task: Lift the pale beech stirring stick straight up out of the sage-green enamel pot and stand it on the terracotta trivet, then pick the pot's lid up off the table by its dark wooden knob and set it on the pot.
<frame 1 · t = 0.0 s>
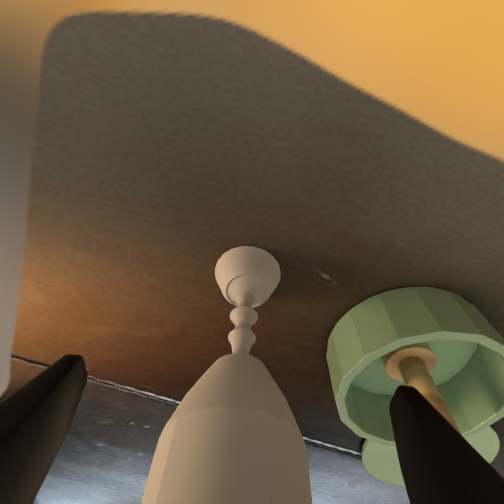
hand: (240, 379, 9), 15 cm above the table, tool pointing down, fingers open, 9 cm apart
chalice: (247, 272, 25), on the table
pot lid: (426, 450, 35), point 1 cm above the table
stick: (404, 351, 28), resting on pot
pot: (402, 346, 28), on the table
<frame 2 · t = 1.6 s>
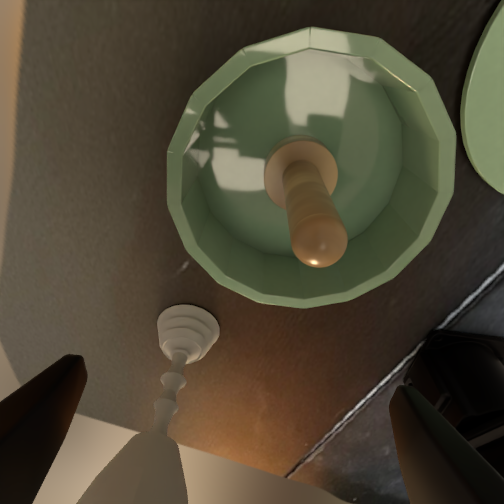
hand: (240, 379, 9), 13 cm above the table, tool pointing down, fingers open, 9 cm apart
chalice: (188, 326, 26), on the table
stick: (298, 170, 19), resting on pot
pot: (297, 167, 19), on the table
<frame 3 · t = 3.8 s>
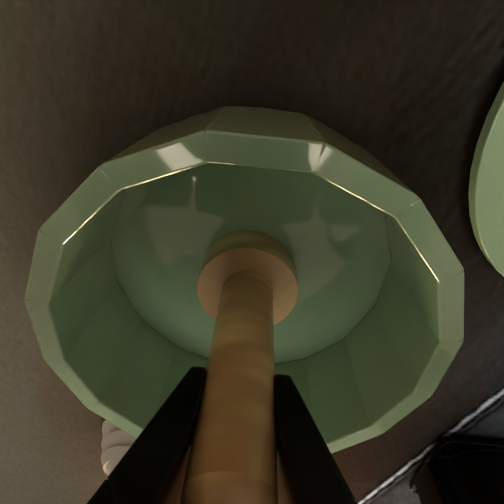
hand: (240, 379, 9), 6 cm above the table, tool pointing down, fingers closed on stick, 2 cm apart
chalice: (141, 431, 22), on the table
stick: (249, 271, 14), point 1 cm above the table, touching gripper, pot
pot: (249, 265, 15), on the table
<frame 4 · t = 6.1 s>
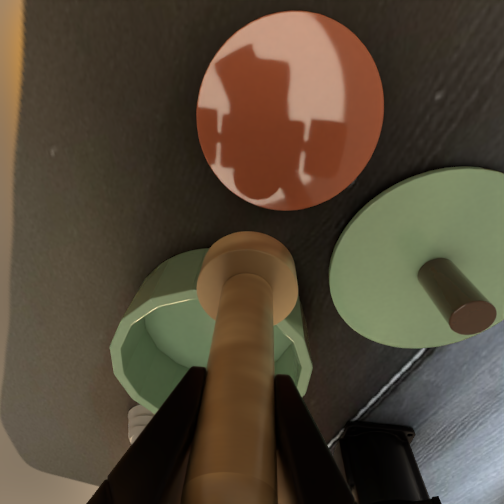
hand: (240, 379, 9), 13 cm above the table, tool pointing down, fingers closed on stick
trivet: (287, 122, 18), on the table
chalice: (153, 418, 33), on the table
pot lid: (432, 268, 22), point 1 cm above the table
stick: (248, 272, 14), point 8 cm above the table, touching gripper
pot: (220, 319, 26), on the table
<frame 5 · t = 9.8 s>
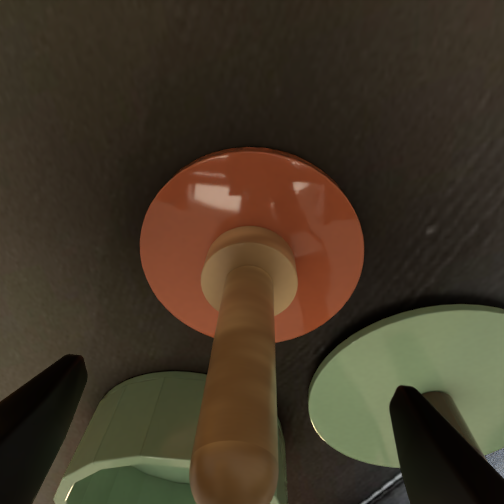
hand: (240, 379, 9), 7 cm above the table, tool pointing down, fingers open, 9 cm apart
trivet: (251, 255, 15), on the table
pot lid: (427, 396, 19), point 1 cm above the table
stick: (250, 265, 15), point 1 cm above the table, touching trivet
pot: (189, 433, 23), on the table
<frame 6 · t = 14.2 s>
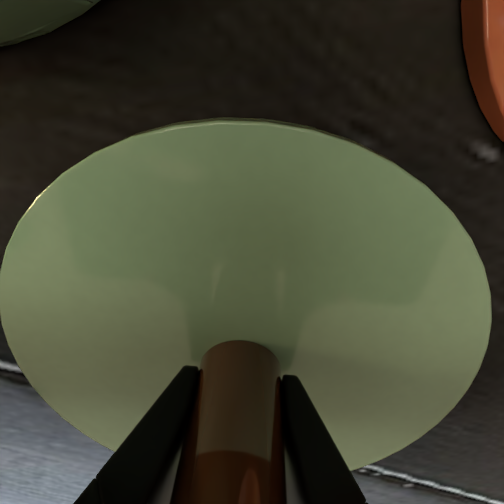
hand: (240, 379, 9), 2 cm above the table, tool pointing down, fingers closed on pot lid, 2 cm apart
pot lid: (241, 354, 10), point 1 cm above the table, touching gripper
when the fingers open (6 cm above the table, at t = 20.0 s): pot lid stays where it is, resting on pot.
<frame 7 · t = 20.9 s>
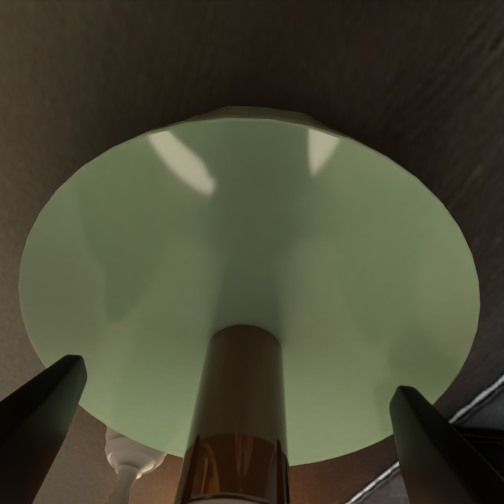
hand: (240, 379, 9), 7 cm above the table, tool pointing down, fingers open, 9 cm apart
chalice: (144, 424, 22), on the table
pot lid: (245, 340, 11), point 5 cm above the table, touching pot
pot: (250, 259, 15), on the table
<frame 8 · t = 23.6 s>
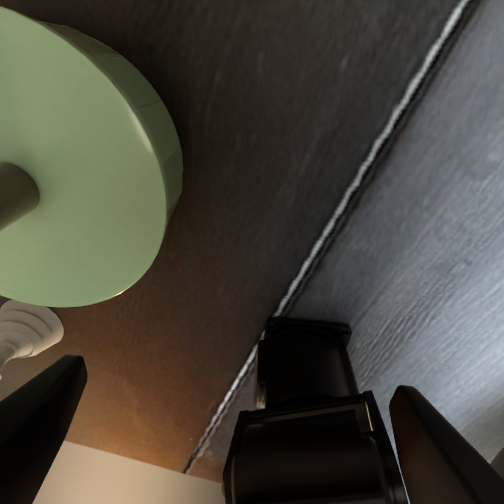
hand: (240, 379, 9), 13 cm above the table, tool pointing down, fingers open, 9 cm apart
chalice: (33, 321, 27), on the table
pot lid: (20, 184, 15), point 5 cm above the table, touching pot
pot: (74, 156, 19), on the table
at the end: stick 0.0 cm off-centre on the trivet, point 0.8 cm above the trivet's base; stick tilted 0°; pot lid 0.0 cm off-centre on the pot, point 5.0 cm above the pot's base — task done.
